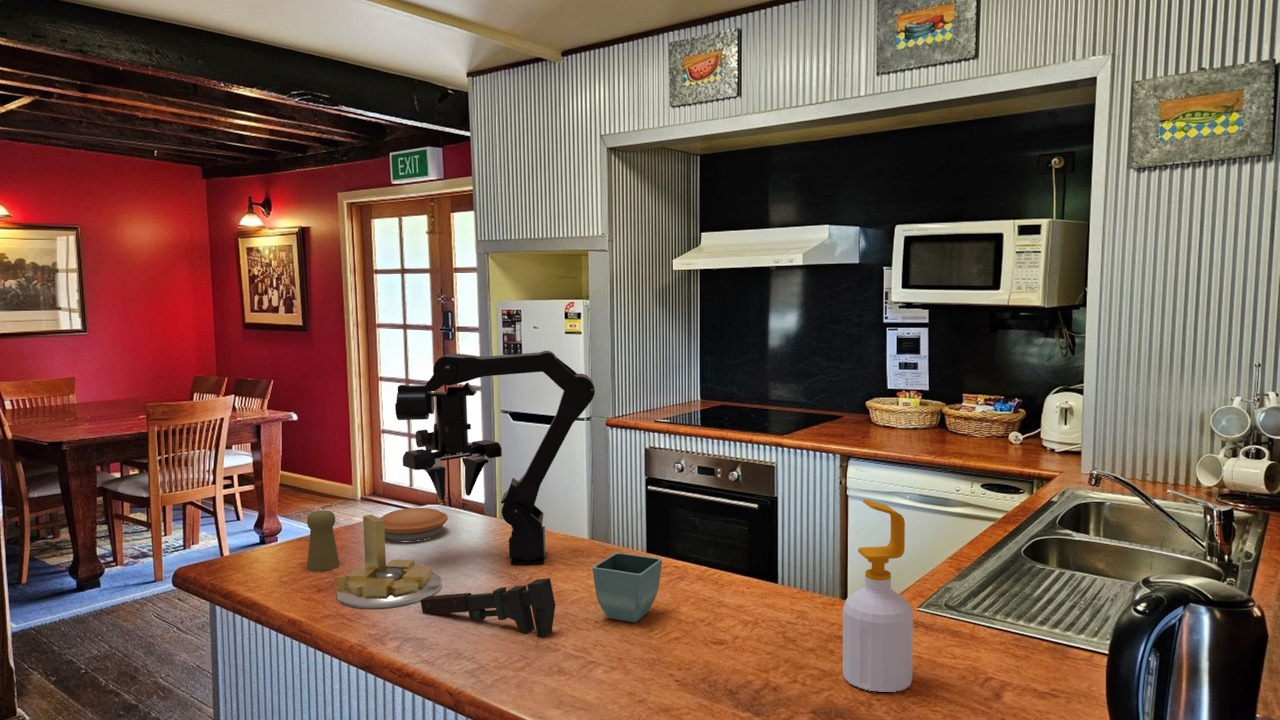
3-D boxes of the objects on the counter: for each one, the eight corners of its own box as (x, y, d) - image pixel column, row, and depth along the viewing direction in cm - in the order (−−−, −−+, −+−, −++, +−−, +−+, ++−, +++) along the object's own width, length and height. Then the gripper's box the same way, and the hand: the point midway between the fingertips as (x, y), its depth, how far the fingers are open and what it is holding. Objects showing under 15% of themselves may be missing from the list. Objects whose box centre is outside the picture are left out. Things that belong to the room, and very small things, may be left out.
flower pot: (664, 610, 144) (663, 557, 143) (641, 630, 136) (640, 574, 135) (616, 603, 147) (615, 551, 146) (592, 621, 139) (591, 567, 138)
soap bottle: (834, 666, 122) (834, 494, 119) (897, 663, 122) (898, 492, 120) (855, 696, 113) (856, 511, 111) (923, 692, 113) (925, 509, 111)
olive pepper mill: (345, 561, 172) (342, 507, 171) (331, 572, 166) (328, 515, 165) (315, 561, 172) (313, 507, 172) (301, 571, 166) (298, 515, 166)
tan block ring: (443, 582, 154) (441, 525, 153) (367, 602, 145) (365, 541, 144) (404, 562, 166) (402, 508, 165) (332, 578, 157) (329, 522, 156)
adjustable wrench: (437, 637, 146) (560, 631, 135) (427, 643, 144) (551, 637, 132) (427, 588, 146) (549, 578, 135) (417, 594, 144) (540, 583, 132)
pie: (457, 525, 197) (456, 504, 197) (435, 546, 182) (434, 523, 181) (392, 525, 199) (391, 503, 198) (364, 545, 183) (363, 522, 183)
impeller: (450, 572, 164) (450, 555, 164) (428, 608, 146) (427, 589, 146) (356, 574, 164) (355, 557, 164) (321, 609, 146) (320, 590, 146)
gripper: (474, 409, 180) (476, 483, 181) (388, 419, 168) (392, 498, 169) (502, 415, 171) (504, 492, 173) (414, 426, 159) (417, 509, 161)
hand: (455, 497), depth 169 cm, fingers open, 5 cm apart
